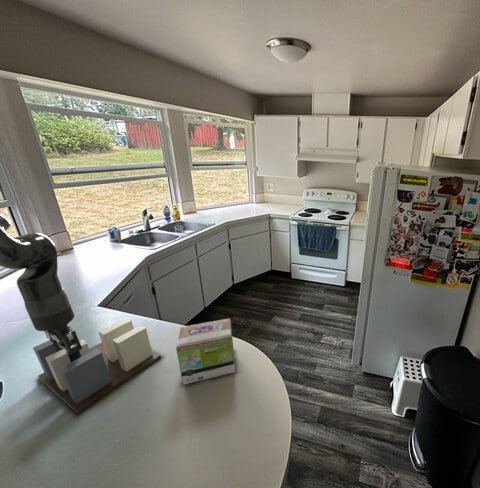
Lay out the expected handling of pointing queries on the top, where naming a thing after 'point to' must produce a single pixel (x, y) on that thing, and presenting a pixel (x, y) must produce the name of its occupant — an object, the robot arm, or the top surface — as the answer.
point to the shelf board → (117, 380)
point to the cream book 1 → (63, 363)
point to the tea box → (205, 350)
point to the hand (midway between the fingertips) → (69, 355)
